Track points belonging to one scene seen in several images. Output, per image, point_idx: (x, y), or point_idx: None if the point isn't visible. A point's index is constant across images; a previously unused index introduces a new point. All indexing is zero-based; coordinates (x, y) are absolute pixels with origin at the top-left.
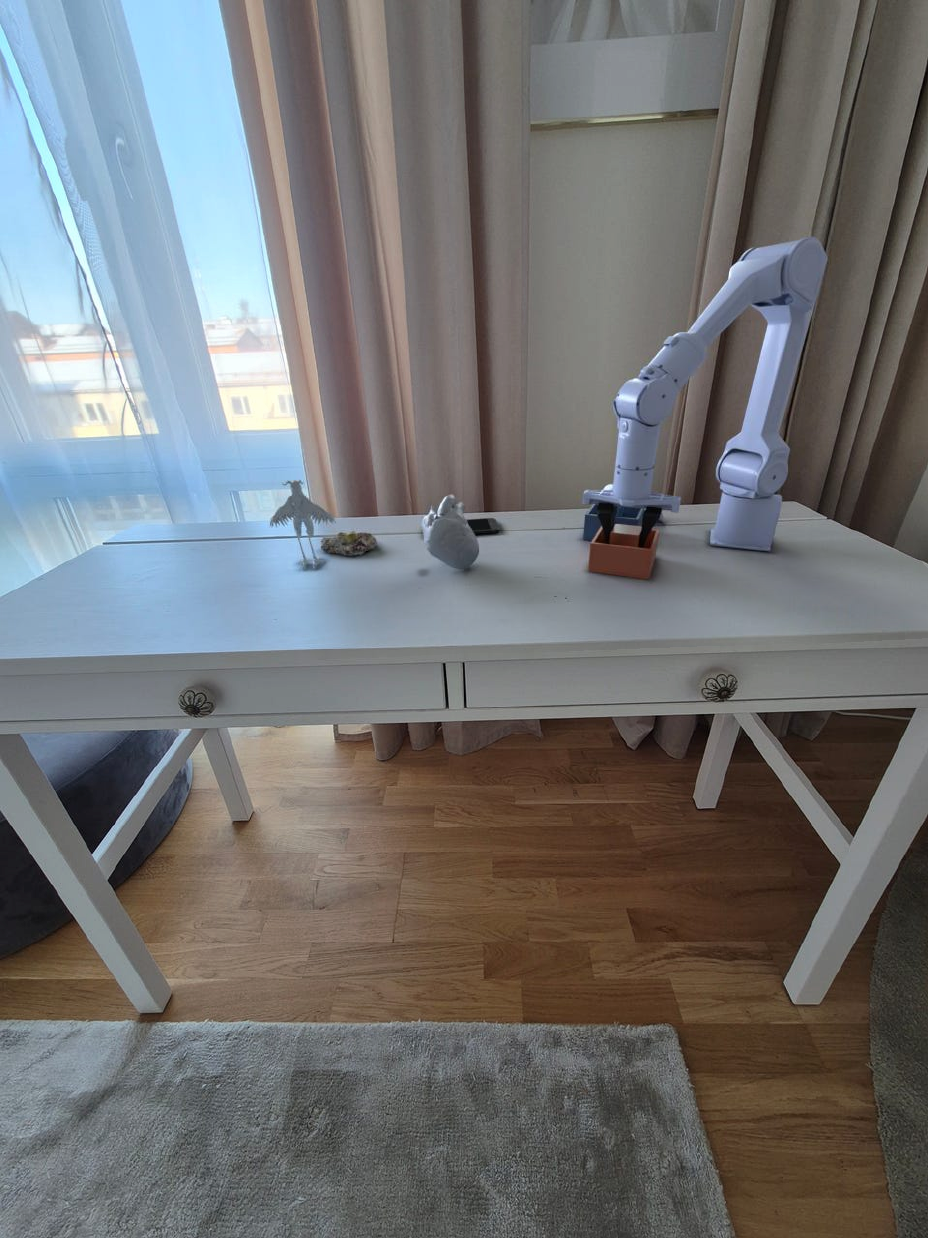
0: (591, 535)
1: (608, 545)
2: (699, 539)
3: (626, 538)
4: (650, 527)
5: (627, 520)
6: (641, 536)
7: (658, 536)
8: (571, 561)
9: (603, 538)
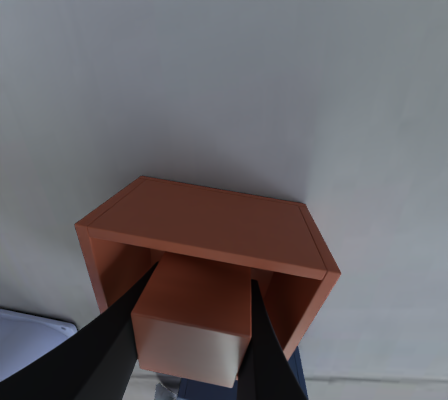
0: None
1: (258, 257)
2: None
3: (186, 303)
4: (59, 352)
5: (204, 396)
6: (129, 311)
7: None
8: (343, 257)
9: None
